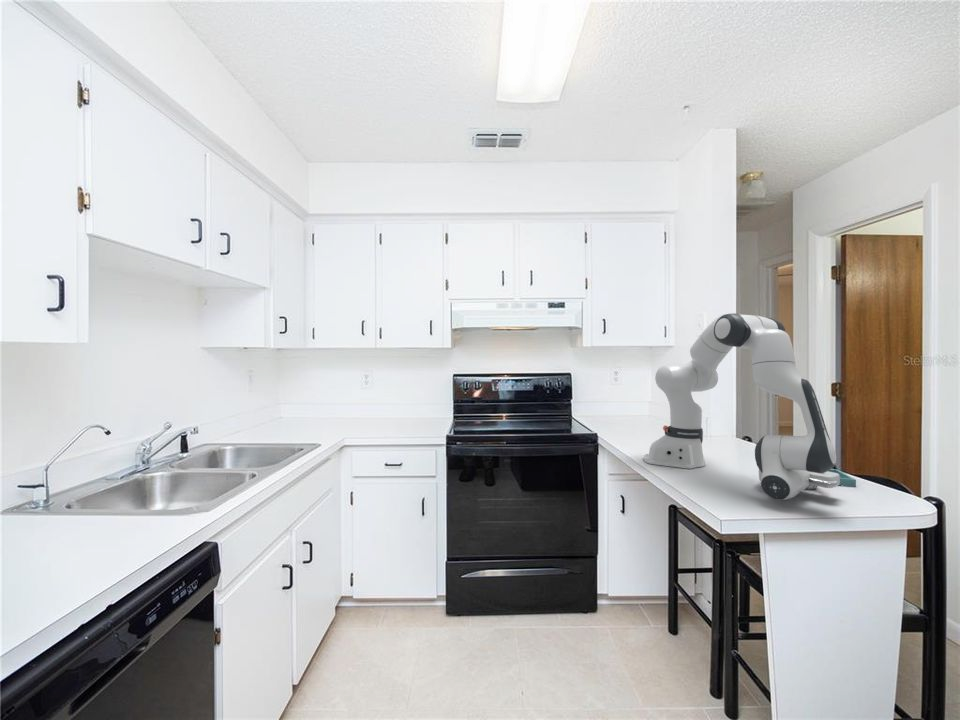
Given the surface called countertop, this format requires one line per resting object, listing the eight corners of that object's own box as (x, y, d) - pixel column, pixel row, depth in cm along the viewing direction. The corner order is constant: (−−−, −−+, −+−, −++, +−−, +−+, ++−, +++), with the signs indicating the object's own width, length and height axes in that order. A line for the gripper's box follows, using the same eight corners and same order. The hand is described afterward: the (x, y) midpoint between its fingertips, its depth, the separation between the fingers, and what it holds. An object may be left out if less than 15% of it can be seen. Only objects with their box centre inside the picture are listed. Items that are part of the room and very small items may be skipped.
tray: (805, 482, 146) (805, 475, 146) (790, 472, 158) (791, 465, 158) (855, 487, 142) (856, 479, 142) (837, 476, 154) (837, 469, 154)
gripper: (835, 474, 124) (845, 466, 133) (754, 460, 139) (768, 453, 148) (834, 496, 124) (844, 486, 133) (753, 479, 139) (767, 472, 148)
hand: (803, 469), depth 141 cm, fingers open, 8 cm apart
